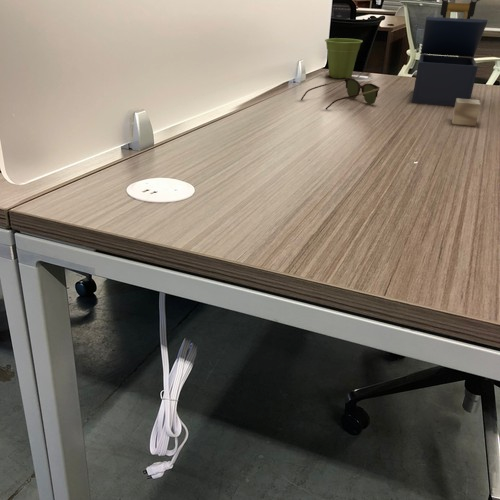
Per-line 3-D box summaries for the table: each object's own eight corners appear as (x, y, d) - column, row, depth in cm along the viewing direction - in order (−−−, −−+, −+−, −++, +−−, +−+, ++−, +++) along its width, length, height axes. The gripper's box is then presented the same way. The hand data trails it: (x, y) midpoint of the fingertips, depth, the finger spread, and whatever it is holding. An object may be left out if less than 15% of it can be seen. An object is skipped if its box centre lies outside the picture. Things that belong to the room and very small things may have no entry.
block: (474, 121, 115) (479, 99, 112) (475, 126, 111) (480, 104, 108) (451, 119, 116) (456, 98, 114) (452, 124, 112) (457, 102, 110)
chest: (468, 107, 128) (478, 66, 123) (411, 102, 132) (418, 62, 127) (465, 95, 143) (473, 57, 138) (414, 90, 147) (420, 54, 142)
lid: (487, 22, 120) (491, -1, 120) (425, 19, 124) (429, -3, 124) (473, 57, 138) (477, 37, 138) (420, 53, 142) (424, 34, 142)
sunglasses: (378, 106, 126) (380, 85, 124) (328, 116, 121) (329, 94, 118) (344, 95, 138) (345, 76, 135) (297, 103, 132) (297, 84, 130)
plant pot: (321, 73, 171) (324, 37, 165) (356, 75, 170) (360, 38, 164) (322, 79, 160) (325, 41, 155) (359, 81, 159) (364, 42, 154)
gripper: (439, -63, 117) (425, 17, 124) (506, -63, 113) (488, 20, 121) (438, -60, 123) (426, 17, 131) (502, -60, 119) (485, 19, 127)
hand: (456, 18), depth 126 cm, fingers closed on lid, 5 cm apart
